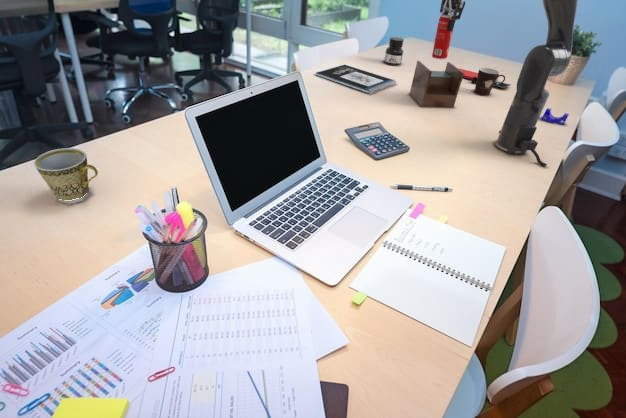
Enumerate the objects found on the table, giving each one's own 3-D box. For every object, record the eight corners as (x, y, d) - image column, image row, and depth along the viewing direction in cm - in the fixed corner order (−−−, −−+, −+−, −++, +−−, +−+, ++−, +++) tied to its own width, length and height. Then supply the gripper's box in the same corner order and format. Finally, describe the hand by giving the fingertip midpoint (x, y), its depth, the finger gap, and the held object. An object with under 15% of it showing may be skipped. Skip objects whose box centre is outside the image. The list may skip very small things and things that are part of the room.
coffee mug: (470, 93, 174) (477, 70, 168) (473, 88, 180) (480, 66, 174) (497, 99, 170) (505, 76, 164) (499, 94, 177) (507, 72, 171)
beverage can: (447, 61, 149) (459, 18, 140) (429, 58, 150) (440, 16, 141) (445, 56, 154) (457, 15, 145) (429, 54, 154) (439, 13, 145)
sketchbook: (344, 67, 191) (344, 63, 190) (396, 84, 176) (397, 80, 175) (315, 75, 177) (315, 70, 176) (369, 94, 162) (370, 90, 161)
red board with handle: (504, 91, 179) (512, 84, 190) (507, 85, 178) (514, 78, 188) (442, 75, 193) (453, 70, 203) (444, 69, 191) (454, 64, 201)
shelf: (453, 107, 158) (464, 73, 150) (421, 106, 156) (430, 71, 148) (439, 94, 169) (449, 62, 161) (409, 94, 167) (417, 60, 159)
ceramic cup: (38, 204, 88) (22, 166, 82) (67, 181, 96) (55, 145, 90) (92, 213, 87) (80, 175, 81) (117, 189, 95) (107, 153, 89)
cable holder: (541, 119, 155) (545, 110, 153) (543, 117, 158) (547, 108, 155) (562, 126, 152) (567, 116, 149) (564, 123, 154) (569, 114, 152)
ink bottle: (381, 63, 200) (386, 39, 193) (384, 59, 207) (388, 35, 200) (400, 67, 198) (405, 42, 191) (402, 62, 205) (407, 38, 198)
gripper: (441, -27, 140) (429, 23, 151) (458, -21, 129) (444, 33, 139) (460, -26, 142) (447, 24, 152) (479, -20, 130) (463, 34, 141)
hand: (445, 28), depth 145 cm, fingers closed on beverage can, 5 cm apart
